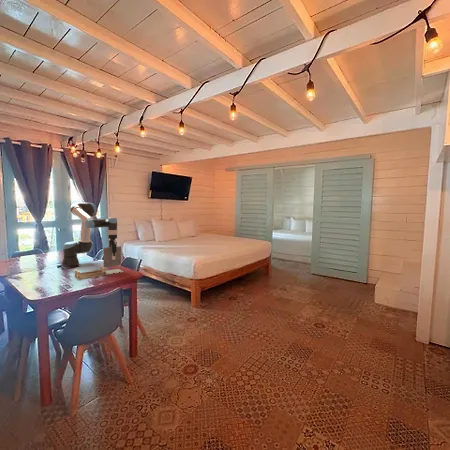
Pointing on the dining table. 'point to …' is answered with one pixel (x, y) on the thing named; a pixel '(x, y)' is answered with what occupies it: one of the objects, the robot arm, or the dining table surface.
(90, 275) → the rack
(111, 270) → the mat
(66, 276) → the dining table surface
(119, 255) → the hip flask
